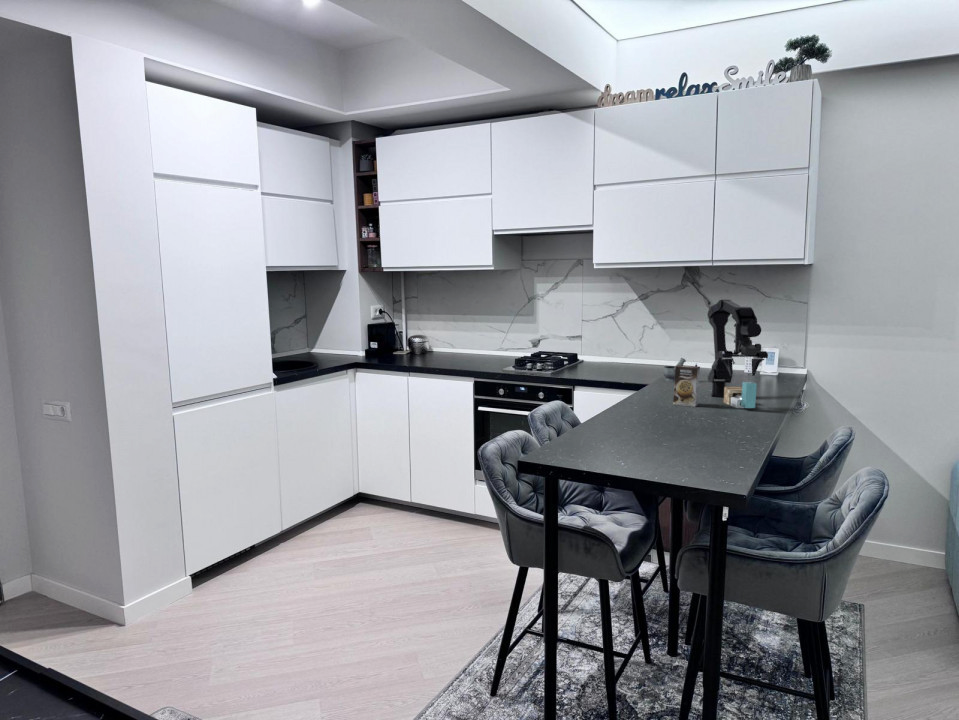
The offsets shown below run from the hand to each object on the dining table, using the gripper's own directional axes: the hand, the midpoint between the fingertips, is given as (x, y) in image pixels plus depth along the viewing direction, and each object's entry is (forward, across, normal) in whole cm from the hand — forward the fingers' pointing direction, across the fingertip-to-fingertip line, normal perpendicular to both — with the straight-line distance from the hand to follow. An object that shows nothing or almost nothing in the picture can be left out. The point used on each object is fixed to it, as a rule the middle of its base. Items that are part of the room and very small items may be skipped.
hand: (742, 375), depth 272 cm
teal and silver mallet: (+12, 0, 0) cm, 12 cm away
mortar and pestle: (+5, -7, +63) cm, 64 cm away
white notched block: (+13, 0, +1) cm, 13 cm away
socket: (+12, 0, +7) cm, 14 cm away
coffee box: (+12, -22, +5) cm, 26 cm away
